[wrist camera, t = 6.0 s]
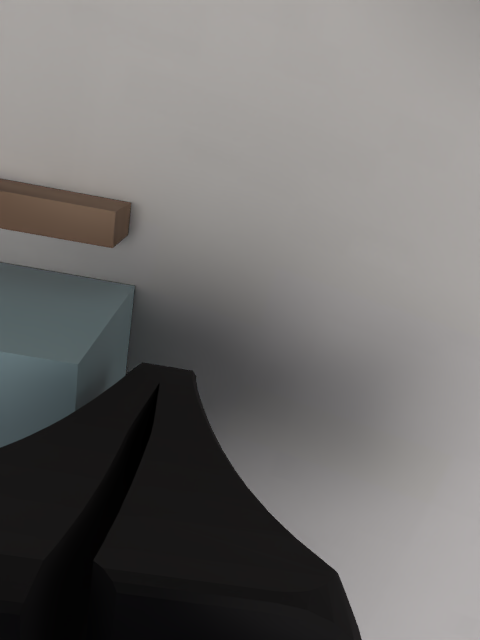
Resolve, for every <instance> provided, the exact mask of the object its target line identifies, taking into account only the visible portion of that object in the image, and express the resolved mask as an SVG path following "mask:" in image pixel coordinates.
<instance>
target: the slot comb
mask: <svg viewBox="0 0 480 640" xmlns="http://www.w3.org/2000/svg"><path fill="white" fill-rule="evenodd" d="M130 209H131V203H130V202H124V201H119V200H113V199H108V198H102V197H97V196H91V195H86V194H81V193H75V192H70V191H64V190H59V189H53V188H48V187H42V186H37V185H32V184H26V183H21V182H15V181H10V180H4V179H0V228H2V229H8V230H13V231H19V232H25V233H30V234H36V235H42V236H47V237H53V238H59V239H64V240H70V241H76V242H81V243H87V244H93V245H98V246H104V247H109V248H113V247H114V246H116V245H117V244H118V243H119V242H120V241H121V240H123V239H124V238H125V237H126V236H127V235H128V230H129V220H130Z"/></svg>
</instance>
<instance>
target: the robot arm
mask: <svg viewBox="0 0 480 640" xmlns="http://www.w3.org/2000/svg"><path fill="white" fill-rule="evenodd" d="M0 640H362V639H361V636H360V632H359V629H358V626H357V623H356V620H355V617H354V614H353V612H352V609H351V606H350V604H349V601H348V598H347V596H346V593H345V590H344V588H343V585H342V583H341V580H340V577H339V575H338V573H337V572H336V571H335V570H334V569H333V568H331V567H330V566H329V565H328V564H327V563H325V562H324V561H323V560H322V559H321V558H319V557H318V556H317V555H316V554H314V553H313V552H312V551H311V550H310V549H308V548H307V547H306V546H305V545H303V544H302V543H301V542H300V541H299V540H297V539H296V538H295V537H294V536H293V535H292V534H291V533H290V532H289V531H288V530H287V529H285V528H284V527H283V526H282V525H281V524H280V523H279V522H278V521H277V520H276V519H275V518H274V517H273V516H272V515H271V514H270V513H269V512H268V511H267V510H266V508H265V507H264V506H263V505H262V504H261V503H260V501H259V500H258V499H257V498H256V497H255V496H254V494H253V493H252V492H251V491H250V490H249V489H248V487H247V486H246V485H245V483H244V482H243V481H242V479H241V478H240V477H239V475H238V474H237V472H236V471H235V469H234V468H233V466H232V465H231V463H230V462H229V460H228V458H227V457H226V455H225V453H224V452H223V450H222V448H221V446H220V444H219V442H218V440H217V438H216V436H215V434H214V432H213V430H212V428H211V426H210V424H209V421H208V419H207V416H206V414H205V411H204V409H203V406H202V403H201V400H200V396H199V393H198V389H197V384H196V375H195V374H194V372H193V371H191V370H185V369H178V368H172V367H166V366H160V365H154V364H148V363H141V364H140V365H138V366H137V367H136V368H134V369H133V370H132V371H130V372H129V373H128V374H127V375H125V376H124V377H123V378H122V379H120V380H119V381H118V382H117V383H115V384H114V385H113V386H111V387H110V388H108V389H107V390H106V391H104V392H103V393H102V394H100V395H99V396H97V397H96V398H95V399H93V400H92V401H90V402H89V403H87V404H86V405H84V406H82V407H81V408H79V409H78V410H76V411H74V412H73V413H71V414H70V415H68V416H66V417H65V418H63V419H61V420H59V421H57V422H56V423H54V424H52V425H50V426H48V427H46V428H44V429H42V430H40V431H38V432H36V433H34V434H32V435H30V436H27V437H25V438H23V439H21V440H18V441H16V442H13V443H11V444H8V445H6V446H3V447H1V448H0Z"/></svg>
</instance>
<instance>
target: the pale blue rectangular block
mask: <svg viewBox="0 0 480 640" xmlns="http://www.w3.org/2000/svg"><path fill="white" fill-rule="evenodd" d="M134 290H135V286H132V285H127V284H121V283H115V282H110V281H104V280H98V279H92V278H87V277H81V276H75V275H70V274H64V273H58V272H53V271H47V270H41V269H35V268H30V267H24V266H18V265H13V264H7V263H1V262H0V448H1V447H3V446H6V445H8V444H11V443H13V442H16V441H18V440H21V439H23V438H25V437H27V436H30V435H32V434H34V433H36V432H38V431H40V430H42V429H44V428H46V427H48V426H50V425H52V424H54V423H56V422H57V421H59V420H61V419H63V418H65V417H66V416H68V415H70V414H71V413H73V412H74V411H76V410H78V409H79V408H81V407H82V406H84V405H86V404H87V403H89V402H90V401H92V400H93V399H95V398H96V397H97V396H99V395H100V394H102V393H103V392H104V391H106V390H107V389H108V388H110V387H111V386H113V385H114V384H115V383H117V382H118V381H119V380H120V379H122V378H123V377H124V376H125V375H126V365H127V356H128V347H129V337H130V328H131V318H132V309H133V299H134Z"/></svg>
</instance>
